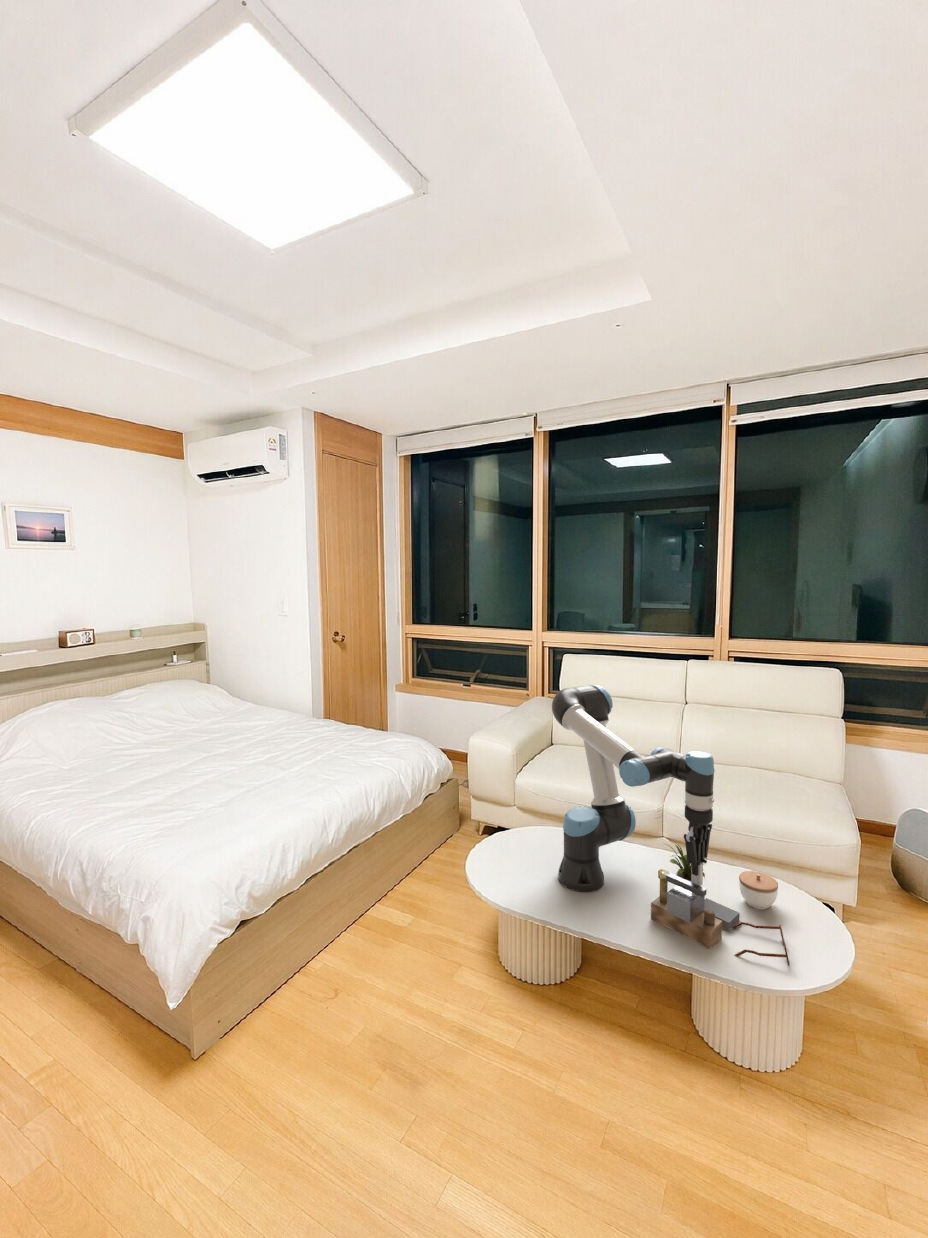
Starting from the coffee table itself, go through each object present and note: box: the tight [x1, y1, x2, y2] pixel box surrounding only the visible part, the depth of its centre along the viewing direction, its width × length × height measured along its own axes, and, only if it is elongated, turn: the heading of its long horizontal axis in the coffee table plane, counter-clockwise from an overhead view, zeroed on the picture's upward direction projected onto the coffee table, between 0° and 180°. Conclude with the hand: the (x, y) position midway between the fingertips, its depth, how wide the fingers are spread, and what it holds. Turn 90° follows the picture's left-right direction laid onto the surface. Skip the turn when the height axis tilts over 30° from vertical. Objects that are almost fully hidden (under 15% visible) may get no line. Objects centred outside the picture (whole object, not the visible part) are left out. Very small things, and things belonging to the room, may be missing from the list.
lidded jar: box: [738, 870, 779, 910], centre depth 172 cm, size 11×11×9 cm
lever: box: [657, 868, 707, 897], centre depth 161 cm, size 14×3×2 cm, turn 41°
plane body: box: [650, 879, 723, 950], centre depth 160 cm, size 18×7×12 cm, turn 41°
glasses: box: [731, 921, 790, 966], centre depth 152 cm, size 13×13×5 cm
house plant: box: [664, 843, 708, 882], centre depth 177 cm, size 14×14×16 cm
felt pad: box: [704, 897, 741, 932], centre depth 165 cm, size 10×7×2 cm
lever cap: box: [667, 885, 706, 923], centre depth 160 cm, size 7×8×6 cm
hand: (696, 883), depth 162 cm, fingers closed
